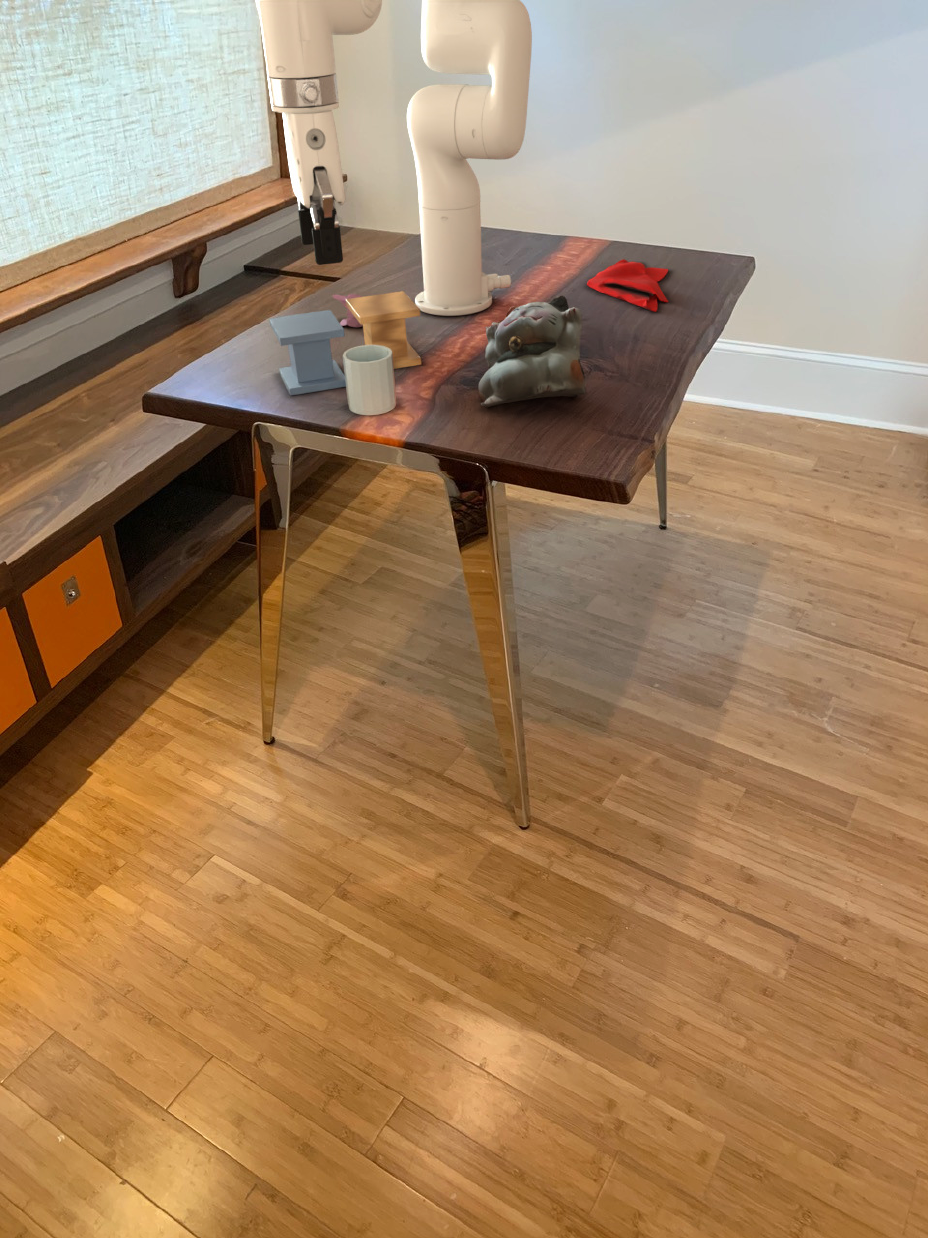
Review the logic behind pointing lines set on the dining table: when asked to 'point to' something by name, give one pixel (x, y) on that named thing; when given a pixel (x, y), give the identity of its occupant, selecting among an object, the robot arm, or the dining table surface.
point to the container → (370, 379)
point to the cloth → (631, 283)
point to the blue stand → (309, 351)
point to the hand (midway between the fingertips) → (322, 252)
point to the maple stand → (387, 324)
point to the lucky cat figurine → (534, 354)
